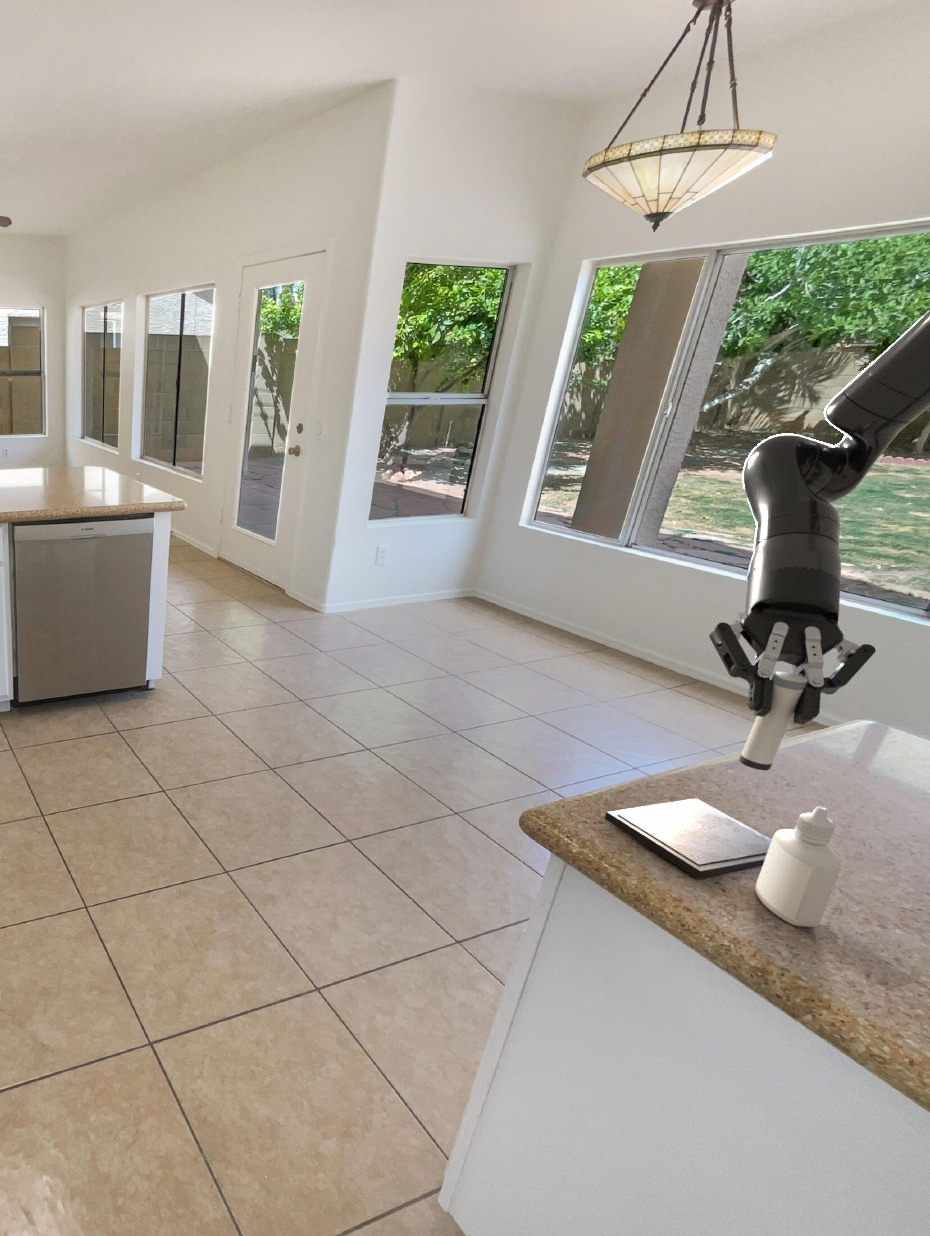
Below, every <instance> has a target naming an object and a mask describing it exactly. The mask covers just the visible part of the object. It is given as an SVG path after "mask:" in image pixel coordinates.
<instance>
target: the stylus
mask: <svg viewBox="0 0 930 1236" xmlns="http://www.w3.org/2000/svg"><path fill="white" fill-rule="evenodd" d="M771 680H773V691H772V703H771V710H770V712H769V713H768V714H767V715H765V716H764V717H761V716H756V718H755V720H754V722H753V724H752V726H751V730H750V733H749V735H748V737H747V739H746V742H745V745H744V747H743V749H742V752H741V754H740V756H739V759H738V761H739V763H740V764H742V765H744V766H746V767H748V768H751V769H754V770H759V771H770V770H771V767H772V766H773V762H774V760H775V758H776V756H777V753H778V751H779V749H780V746H781V744H782V741H783V739H784V737H785V734H786V732H787V729H788V727H789V725H790V722H791V720H792V719H793V717H794V711H795V708H796V706H797V704H798V701H799V699H800V697H801V694H802V692H803V690H804V688H805V686H806V683H807V679H806V678H805V677H802V676H800V675H797V674H793V672H788V671H787V672H786V671H775V672H774V673H773V674H772V676H771Z"/></svg>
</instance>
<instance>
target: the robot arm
mask: <svg viewBox="0 0 930 1236" xmlns="http://www.w3.org/2000/svg"><path fill="white" fill-rule="evenodd" d="M929 408H930V309H929V310H927V311H926V312H925V313H924V314H923V315H922V316H921V317H920V318H919V319H918V320H917V321H916V322H915V323H914V324H913V325H912V326H911V327H910V328H909V329H907V331H905V332H904V333H903V334H902V335H900V337H899V338H898V339H897V340H896V341H895V342H894V343H892V344H891V345H890V346H889V347H888V348H887V349H886V350H885V351H883V353H882V354H880V355H879V356H878V357H877V358H876V359H875V360H874V361H872V362H871V363H869V365H868V366H867V367H866V368H864V370H862V371H861V372H860V373H859V374H858V375H857V376H856V377H855V378H853V380H851V382H849V383H848V384H847V385H846V386H845V387H844V388H843V389H842V390H841V391H840V392H838V394H836V395H835V396H834V397H833V398H832V399H831V400H830V402H829V403H827V405H826V406H825V408H824V411H823V414H824V417H825V420H826V421H827V422H828V423H829V425H831V426H833V427H834V428H835V429H837V430H838V431H840V432H841V433H843V434H844V436H843V438H842V440H841V441H840V442H839V443H837V444H835V445H833V444H830V443H826V442H823V441H819V440H816V439H813V438H810V437H806V436H803V435H800V434H794V433H781V434H776V435H773V436H770V437H768V438H767V439H764V440H762V441H761V442H760V443H758V444H757V446H755V447H754V448H753V449H752V450H751V452H750V453H749V455H748V457H747V458H746V459H745V462H744V466H743V470H742V485H743V489H744V492H745V495H746V499H747V502H748V504H749V508H750V510H751V513H752V517H753V519H754V521H755V525H756V528H755V533H754V534H755V535H754V544H753V545H754V546H753V554H752V557H751V559H750V563H749V568H748V573H747V576H746V582H747V585H746V586H747V587H746V595H745V596H746V597H745V607H744V608H745V609H744V617H743V618H742V619H741V620H740V622H739V623H733V624H729V623H726V622H719V623H717V625H716V626H715V627H714V628H713V629H712V630H711V632H710V633H709V635H708V636H709V639H710V641H711V643H712V645H713V647H714V648H715V650H716V652H717V654H718V656H719V657H720V660H721V661H722V663H723V666H724V668H725V670H726V671H727V673H728V675H729V676H731V677H732V678H740V679H743V680H745V681H746V682H747V683H748V685H749V688H748V697H747V699H748V700H747V706H748V709H749V710H752V711H753V715H754V716H756V717H757V716H761V717H764V716H765V715H767V714H768V713H769V712H770V710H771V703H772V691H773V680H772V679H771V678H772V677H773V674H774V673H773V672H774V669H775V666H776V664H777V662H782V663H786V664H789V665H791V666H792V673H793V674H797V675H800V676H802V677H805V678H806V679H807V683H806V686H805V688H804V690H803V692H802V694H801V697H800V699H799V701H798V704H797V706H796V708H795V711H794V713H793V724H797V725H802V726H804V725H805V724H807V723H808V722H811V721H812V720H814V719H816V718H817V717H818V716H819V714H820V710H821V694H824V695H825V694H826V695H834V694H835V693H836V692H838V691H839V690H840V689H842V688H843V687H845V686H846V685H847V684H848V683H849V682H850V681H851V680H852V679H853V677H854V676H855V675H856V674H857V673H858V672H859V671H860V670H861V668H863V666H864V665H865V664H866V663H867V662H868V661H869V660H870V659H871V657H873V655H874V654H875V653H876V651H877V649H876V647H875V646H873V645H872V644H868V643H865V644H861V645H859V644H857V643H854V642H852V641H850V640H848V639H846V638H844V637H845V635H844V633H843V631H842V630H841V628H840V627H839V618H840V602H841V601H840V598H841V582H842V581H841V580H842V579H841V578H842V560H841V555H840V532H841V531H840V530H841V517H840V514H839V511H838V510H837V508H836V507H835V506H834V505H833V504H832V503H834V502H837V501H839V500H841V499H843V498H845V497H847V496H848V495H849V494H851V493H852V492H853V491H854V490H855V489H856V488H857V487H858V486H859V485H860V484H861V482H862V481H863V480H864V479H865V477H866V476H867V475H868V473H869V472H870V470H871V469H872V467H873V466H874V465H875V463H876V462H877V460H878V459H879V458H880V457H881V456H882V455H883V453H884V452H885V450H886V449H887V448H888V447H889V445H890V444H891V443H892V442H893V440H894V439H895V438H896V436H898V434H899V433H900V432H901V431H902V430H903V429H904V428H905V427H907V426H908V425H910V424H911V422H913V421H915V419H916V418H919V416H920V415H922V414H923V413H924V412H925V411H926V410H927V409H929ZM741 636H742V638H743V639H744V640H745V642H746V643H748V645H749V646H750V647H751V648H752V649H753V651H754V652H755V654H754V657H753V660H752V663H751V662H750V659H749V657H748V655H747V654H746V652H745V650H744V648H743V647H742V645H741V643H740V640H741ZM833 649H835V650H836V651H837V655H836V659H837V661H838V662H839V663H840V665H838V667H837V668H836V669H835V670H834V671H833V672H832V674H830V675H829V676H827V677H824V673H823V667H824V664H825V663H824V662H825V661H824V656H825V655H826V654H828V653H829V652H831V650H833Z"/></svg>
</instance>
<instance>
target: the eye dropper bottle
mask: <svg viewBox="0 0 930 1236" xmlns="http://www.w3.org/2000/svg"><path fill="white" fill-rule="evenodd" d="M835 828H836V824H835V823H834V821H833V820H831V819H829V818H828V808H827V807H825V806H823V805H816V806H815V808H814V809H813V810H812V812H805V813H800V814H799V815H798V819H797V822H796V825H795V827H794V829H791V828H782V829H778V830H777V831H775V832H774V834H773V837H772V838H771V839H772V841H771V844H770V846H769V849H768V852H767V855H766V858H765V860H764V863H763V866H761V869H760V872H759V875H758V878H757V880H756V884H755V886H754V890H755V894H756V896H757V898H758V900H759V901H760V902H761V903H762V904H763V905H764V906H765V907H766V908H767V909H768V910H769V911H770V912H772V913H773V914H774V915H775V916H777V917H779V918H780V919H782V920H783V921H785V922H786V923H788V924H790V925H792V926H795V927H807V928H817V927H819V925H820V923H821V921H822V919H823V916H824V913H825V910H826V907H827V906H828V903H829V900H830V898H831V896H832V893H833V890H834V887H835V885H836V882H837V880H838V877H839V874H840V871H841V868H842V867H841V862H840V859H839V857H838V854H836V852H835V850H834V849H833V848H832V847H831V846H830V841H831V839H832V836H833V833H834V831H835Z"/></svg>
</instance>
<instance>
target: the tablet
mask: <svg viewBox="0 0 930 1236" xmlns="http://www.w3.org/2000/svg"><path fill="white" fill-rule="evenodd" d="M604 820H606V821H607V822H608V823H610V824H612V825H613V826H615V827H617V828H618V829H619V830H621V831H623V832H624V833H625V834H627V835H629V836H630V837H632V838H634V839H636V841H638V842H640V843H641V844H643V845H645V846H646V847H647V848H649V849H651V850H652V851H653V852H655V853H657V854H658V855H660V856H662V857H663V858H664V859H666V860H668V861H669V862H671V863H672V864H674V865H675V866H677V867H678V868H680V869H682V870H683V871H685V872H686V873H688V874H689V875H690V876H692V877H694V878H695V879H697V880H698V879H704V878H709V877H710V878H711V877H715V876H720V875H726V874H730V873H735V872H742V871H745V870H746V871H747V870H750V869H755V868H760V867H762V866H763V863H764V860H765V858H766V855H767V852H768V849H769V846H770V844H771V841H772V839H773V838H770V837H769V836H767V835H765V834H763V833H761V832H760V831H757V830H755V829H754V828H752V827H750V826H748V825H746V824H744V823H743V822H741V821H739V820H737V819H735V818H733V816H732V817H731V816H730V815H728V814H726V813H724V812H722V811H720V810H719V809H717V808H715V807H713V806H711V805H710V804H707V803H705V802H704V801H703V800H700V799H698V798H688V799H682V800H676V801H669V802H663V803H657V804H650V805H643V806H636V807H630V808H624V809H623V808H622V809H617V810H610V811H606V812H605V816H604Z"/></svg>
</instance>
